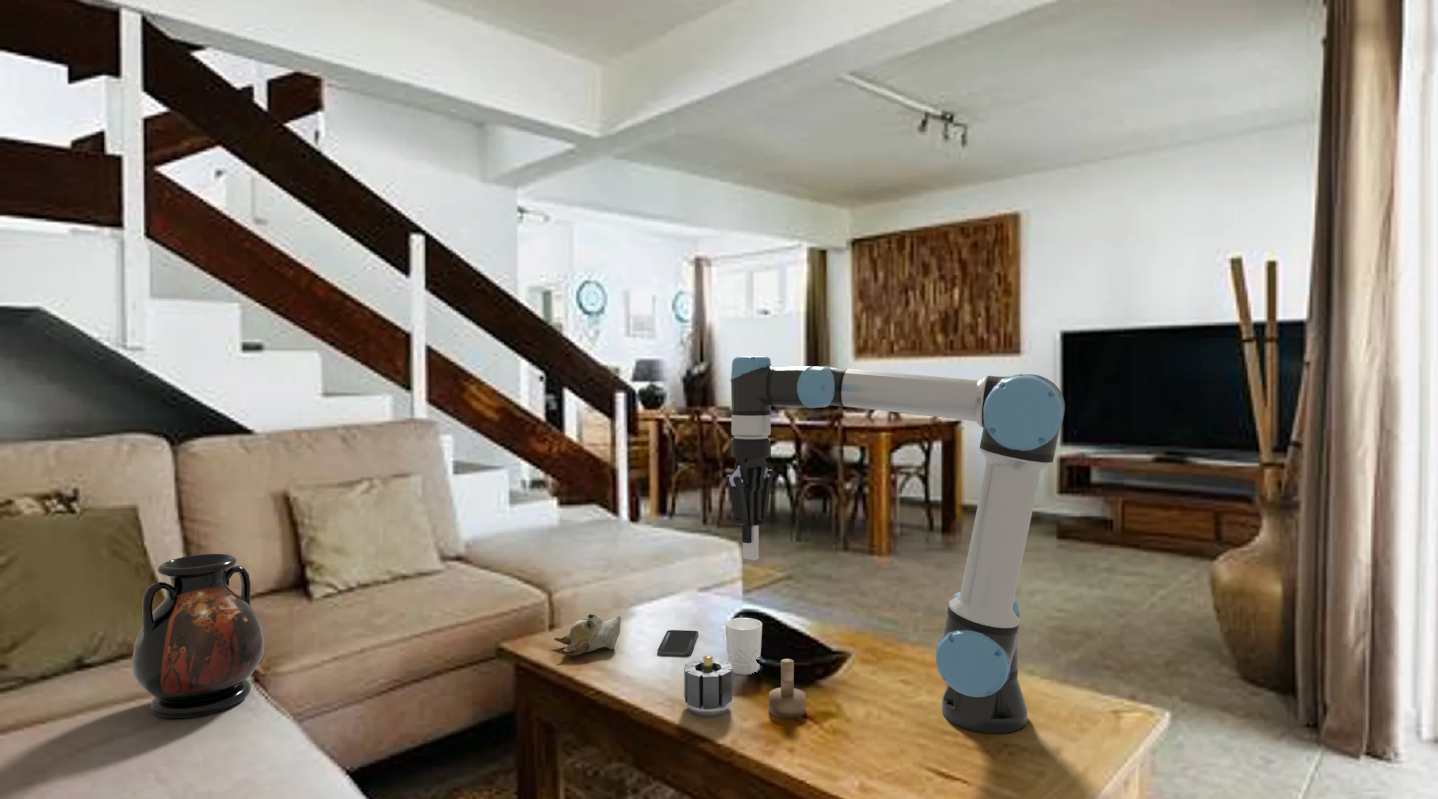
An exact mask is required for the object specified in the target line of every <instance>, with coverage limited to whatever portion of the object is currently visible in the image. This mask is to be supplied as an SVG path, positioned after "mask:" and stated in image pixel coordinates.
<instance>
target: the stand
mask: <svg viewBox="0 0 1438 799" xmlns="http://www.w3.org/2000/svg"><path fill="white" fill-rule="evenodd" d="M794 662H795V660H793V659H791V658H784V659H781V660H780V687H776V688H774V689H772V690H770V691H769V692H768V711H769V713H770V714H771V715H772V716H773V717H777V718H780V719H787V720H788V719H797V718H800V717H802V716H804V715H805V714H806V711H807V710H806V709H807V707H806V706H807V704H806V703H807V701H806V700H807V698H806V697H807V696H806V695H807V694H806V693H805V692H804V691H803V690H802V689H798V688H796V687H794V686H795V685H794V682H795V681H794V678H795V677H794V675H795V674H794V673H795V668H794V666H795V665H794V664H795V663H794Z"/></svg>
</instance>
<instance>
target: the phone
mask: <svg viewBox="0 0 1438 799" xmlns="http://www.w3.org/2000/svg"><path fill="white" fill-rule="evenodd" d="M698 638H699V631H697V630H685V629H681V630H680V629H669V630H667V631H665V635H664V636H663V638H662V640H661V643H660V644H659V647H658V648H657V655H658V656H662V657H663V656H667V657H668V656H669V657H690V656H692V654H693V652H694V649H695V646H696V643H697V640H698Z"/></svg>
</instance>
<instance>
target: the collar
mask: <svg viewBox="0 0 1438 799" xmlns="http://www.w3.org/2000/svg"><path fill="white" fill-rule="evenodd" d="M702 670H703V658H698V659H693V660H691V661H690V662H687V663H685V664H684V665H683V698H684V702H685V703H686V705H687V704H688V705H691V706H694V707H697V708H701V707H703V709H708V708H719V706H721V707H723V706H725V705H727V704H728V703H729V704H730V703H732V701H733V673H732V666H731V664H730V663H728V661H725V660H722V659H719V658H715V659H713V670H714V671H716V672H708V673H703V672H701V671H702Z"/></svg>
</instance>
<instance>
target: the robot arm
mask: <svg viewBox="0 0 1438 799" xmlns="http://www.w3.org/2000/svg"><path fill="white" fill-rule="evenodd" d="M730 373H731V376H730V386H731V387H730V391H731V393H730V396H731V413H730V414H731V435H732V436H733V437H732V439H730V440H731V441H730V444H731V445H730V446H731V447H730V448H731V449H730V450H731V451H730V455H731V456H732V457H733V458H734V459H735V464H734V472H733V473H732V475H726V478H725V480H726V483H727V485H728V488H729V492H730V493H729V494H730V499H731V500H730V501H731V507H732V514H733V520H734V523H735V524H737V526H738V525H739V526H741V541H742V559H744V560H751V561H756V560H759V558H760V556H759V555H760V552H759V549H760V548H759V546H760V542H759V540H760V525H761V526H763V525H765V522H766V521H765V520H766V519H767V517H768V509H769V503H770V502H769V501H770V495H771V494H770V493H771V486H772V481H773V478H774V475H775V471H774V470H773V469H769V468H768V466H767V465H768V464H767V461H766V459H768V458H769V457H770V456H771V439H770V438H769V437H768V436H770V435H771V433H772V431H771V425H772V424H771V420H772V418H771V407H790V408H791V407H792V408H808V409H817V408H826V407H828V406H835V407H836V406H837V407H838V406H839V407H846V408H847V407H849V408H856V409H865V410H867V409H868V410H874V411H883V412H892V413H899V414H900V413H901V414H908V415H909V414H910V415H917V416H924V417H925V416H927V417H935V418H943V419H944V418H945V419H952V420H953V419H954V420H962V421H970V422H971V421H972V422H975V423H976V424H978V426H980V428H981V429H982V428H983V429H982V432H981V439H980V444H979V451H980V452H981V453H982V455H983V456H984V458H985V460H986V462H985V467H984V472H983V477H982V484H981V487H980V493H979V497H978V498H979V499H978V501H977V502H978V503H977V507H976V513H975V518H974V522H973V528H972V533H971V538H970V544H969V549H968V553H967V556H966V557H967V558H966V564H965V567H964V572H963V577H962V578H963V579H962V582H961V583H962V584H961V588H960V591H958V592H956V593H954V595H953V598H952V599H951V600H949V602H948V605H947V606H948V607H947V611H946V615H945V620H944V626H943V630H942V631H943V632H942V635H941V639H940V640H939V641H938V643H937V645H936V648H935V649H936V650H935V665H936V669H937V671H938V673H939V675H940V676H941V678H942V680H944V682H945V683H946V684H947V685H946V687H945V690H944V693H943V695H942V699H941V700H942V701H941V711H942V715H943V716H944V717H945V718H946V719H947V720H948V721H949V722H951V723H952V724H955V725H957V726H959V727H961V728H963V729H967V730H970V731H973V732H980V733H987V734H1009V733H1008V732H1010V733H1013V732H1012V731H1015V732H1017V730H1018V731H1020V730H1021V729H1020V728H1022V727H1023V728H1025V727H1026V725H1027V724H1028V707H1027V705H1026V701H1025V698H1024V694H1023V691H1022V689H1021V685H1020V682H1019V678H1018V676H1019V675H1018V674H1019V673H1018V671H1019V667H1018V666H1019V662H1018V661H1019V627H1020V622H1021V621H1020V618H1019V617H1020V616H1021V613H1020V611H1019V610H1020V609H1019V608H1020V607H1019V602H1018V600H1016V598H1015V597H1016V593H1017V587H1018V583H1019V578H1020V572H1021V568H1022V565H1023V564H1022V563H1023V559H1024V554H1025V550H1026V544H1027V540H1028V535H1029V529H1030V524H1031V520H1032V514H1033V510H1034V507H1035V500H1036V496H1037V492H1038V486H1039V481H1040V477H1041V472H1042V471H1044V469H1046V468H1048V467H1049V466H1051V465H1053V462H1054V459H1055V454H1056V449H1057V445H1058V440H1059V435H1060V430H1061V426H1062V424H1063V421H1064V417H1065V412H1066V411H1065V410H1066V403H1065V399H1064V396H1063V393H1062V391H1061V389H1060V388H1059V387H1058V386H1057V385H1056V384H1055V383H1054V382H1053V381H1051V380H1049V378H1047V377H1044V376H1043V375H1042V376H1041V375H1039V374H1030V373H1028V374H1023V373H1020V374H1015V375H1010V376H1000V375H999V376H997V375H995V376H994V375H986V376H984V377H983V378H982V379H969V378H966V379H965V378H957V377H946V376H933V375H921V374H911V373H901V372H890V371H889V372H888V371H877V370H869V369H868V370H867V369H858V368H857V369H855V368H844V367H835V366H831V365H819V366H817V365H816V366H815V365H814V366H813V365H811V366H810V365H809V366H772V363H771V358H770V357H769V356H760V355H759V356H736V357H734V358H733V359H732V362H731V372H730ZM1026 723H1027V724H1026ZM1025 724H1026V725H1025ZM1024 726H1025V727H1024ZM1023 728H1022V729H1023ZM1019 729H1020V730H1019Z"/></svg>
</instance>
